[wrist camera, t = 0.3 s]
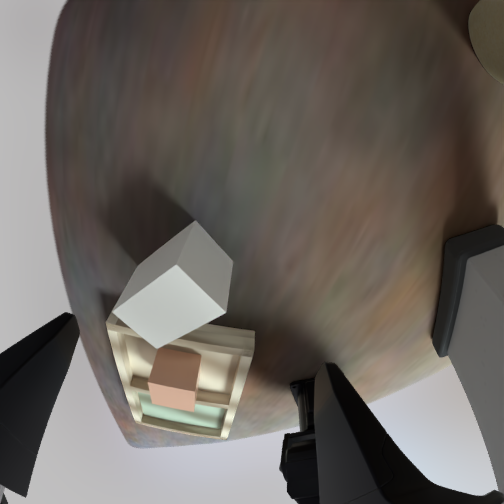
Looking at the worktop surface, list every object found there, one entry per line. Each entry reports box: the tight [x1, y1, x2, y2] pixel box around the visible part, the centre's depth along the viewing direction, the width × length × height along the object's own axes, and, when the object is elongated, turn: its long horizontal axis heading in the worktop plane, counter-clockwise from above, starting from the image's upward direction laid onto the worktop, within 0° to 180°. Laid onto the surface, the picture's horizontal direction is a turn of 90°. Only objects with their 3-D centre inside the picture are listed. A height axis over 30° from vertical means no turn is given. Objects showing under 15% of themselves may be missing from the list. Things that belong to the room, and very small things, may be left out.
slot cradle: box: [106, 306, 255, 440], centre depth 32 cm, size 23×14×2 cm, turn 170°
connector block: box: [112, 220, 233, 349], centre depth 21 cm, size 4×7×6 cm, turn 127°
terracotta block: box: [148, 347, 202, 412], centre depth 27 cm, size 4×4×4 cm
